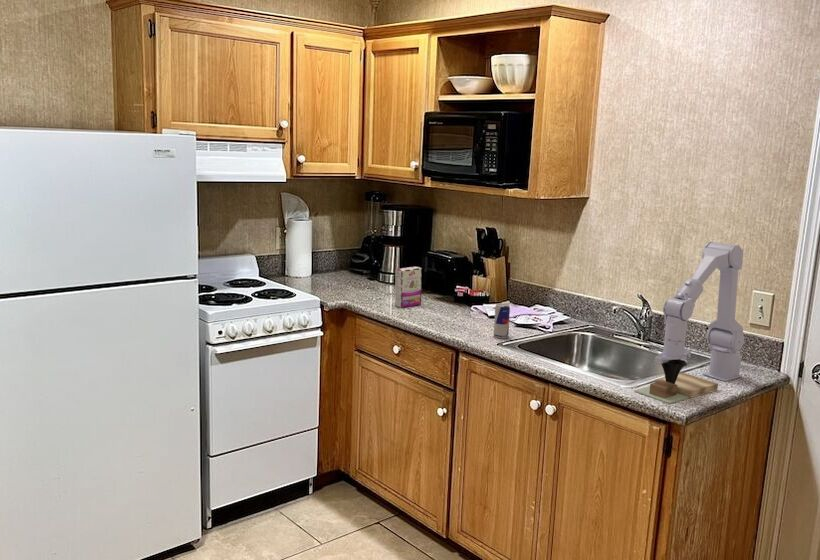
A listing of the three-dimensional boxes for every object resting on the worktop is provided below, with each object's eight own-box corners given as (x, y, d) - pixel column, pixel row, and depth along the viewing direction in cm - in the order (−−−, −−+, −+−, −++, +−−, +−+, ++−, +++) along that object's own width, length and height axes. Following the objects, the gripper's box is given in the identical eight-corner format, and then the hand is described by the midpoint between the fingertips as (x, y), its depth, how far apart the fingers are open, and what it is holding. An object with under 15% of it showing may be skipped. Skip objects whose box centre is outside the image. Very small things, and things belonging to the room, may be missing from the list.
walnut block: (661, 389, 220) (662, 380, 220) (676, 394, 217) (677, 384, 216) (649, 393, 217) (650, 383, 216) (664, 398, 213) (665, 388, 212)
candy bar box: (413, 303, 326) (415, 266, 323) (421, 305, 322) (422, 267, 319) (393, 306, 319) (394, 268, 316) (401, 308, 315) (402, 270, 312)
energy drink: (506, 339, 271) (508, 307, 269) (491, 337, 273) (493, 305, 271) (509, 336, 276) (511, 304, 274) (495, 334, 278) (497, 303, 276)
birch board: (682, 378, 233) (683, 372, 233) (717, 389, 223) (717, 383, 223) (654, 386, 225) (654, 379, 224) (689, 398, 215) (690, 391, 215)
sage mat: (653, 386, 225) (653, 385, 225) (688, 398, 215) (688, 397, 215) (634, 391, 219) (634, 390, 219) (669, 404, 210) (669, 402, 210)
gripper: (671, 345, 209) (666, 392, 212) (701, 339, 217) (697, 383, 220) (650, 339, 215) (646, 385, 217) (680, 333, 223) (676, 376, 226)
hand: (670, 383), depth 219 cm, fingers closed
